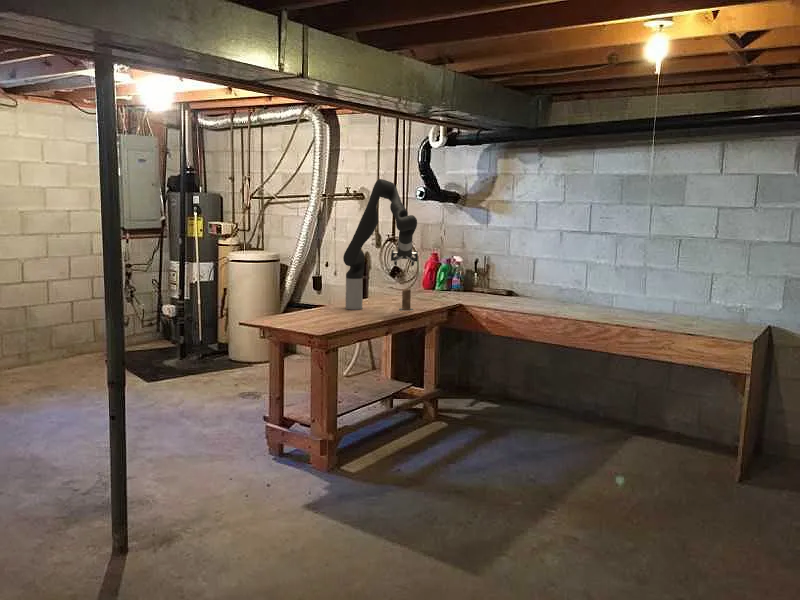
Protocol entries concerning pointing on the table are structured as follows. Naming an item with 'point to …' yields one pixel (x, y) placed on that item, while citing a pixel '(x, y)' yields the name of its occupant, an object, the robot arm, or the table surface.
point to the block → (406, 299)
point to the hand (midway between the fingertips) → (403, 264)
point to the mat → (406, 310)
